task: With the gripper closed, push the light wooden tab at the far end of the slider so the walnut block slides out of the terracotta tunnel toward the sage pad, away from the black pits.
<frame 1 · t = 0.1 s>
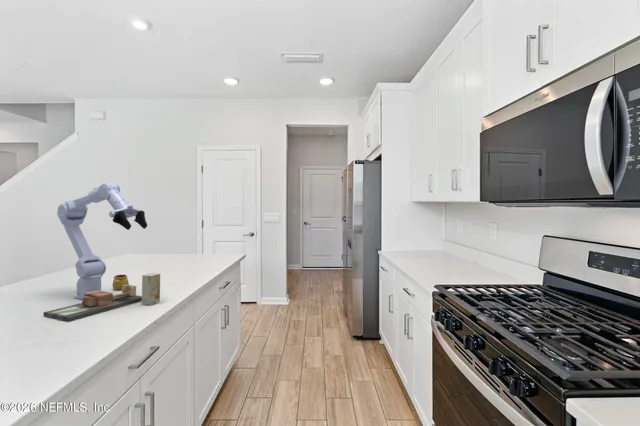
hand: (137, 227, 143), 32 cm above the worktop, tool tilted 50°, fingers open, 7 cm apart
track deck: (97, 307, 139), on the worktop
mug: (120, 288, 173), on the worktop
skincare box: (151, 303, 147), on the worktop
sled: (110, 294, 144), point 4 cm above the worktop, slide at 0.0 cm
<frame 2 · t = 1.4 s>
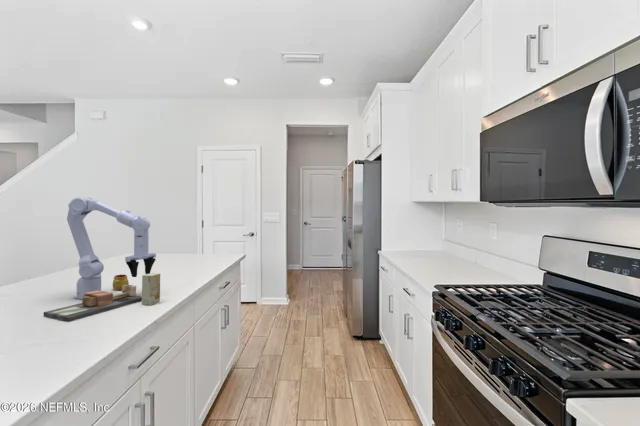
hand: (141, 275, 158), 9 cm above the worktop, tool pointing down, fingers open, 6 cm apart
nothing on the worktop moved.
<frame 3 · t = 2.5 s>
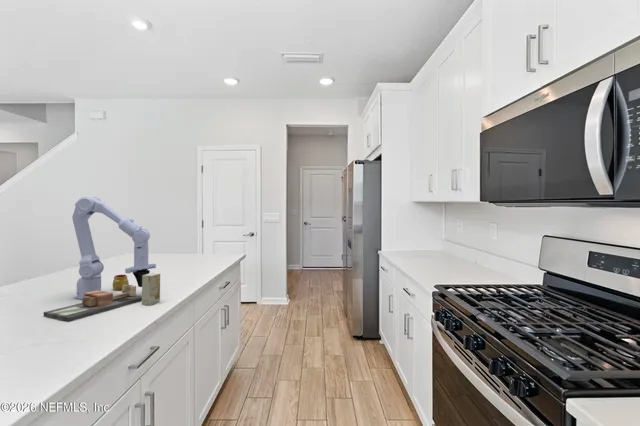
hand: (141, 286, 158), 4 cm above the worktop, tool pointing down, fingers closed
nothing on the worktop moved.
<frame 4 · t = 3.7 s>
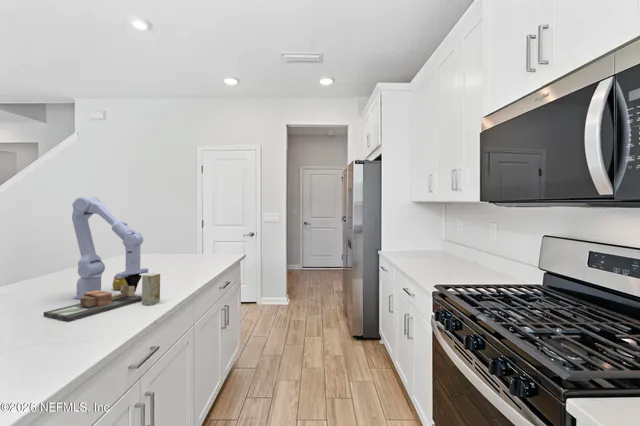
hand: (132, 291, 154), 3 cm above the worktop, tool pointing down, fingers closed
sled: (108, 295, 144), point 4 cm above the worktop, slide at 0.7 cm, touching gripper
everything else where it was.
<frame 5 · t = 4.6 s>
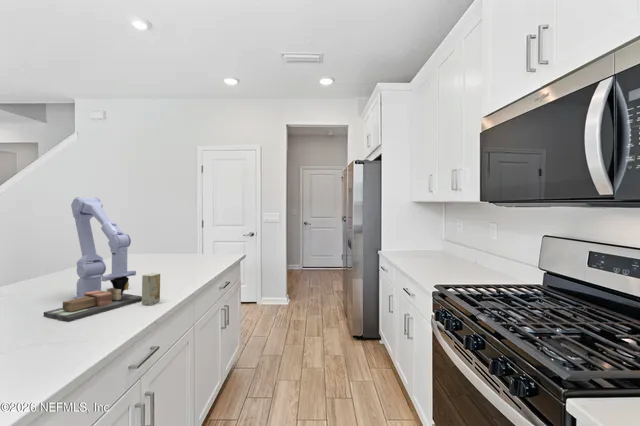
hand: (119, 295, 148), 3 cm above the worktop, tool pointing down, fingers closed
sled: (93, 298, 138), point 4 cm above the worktop, slide at 7.2 cm, touching gripper
everything else where it was.
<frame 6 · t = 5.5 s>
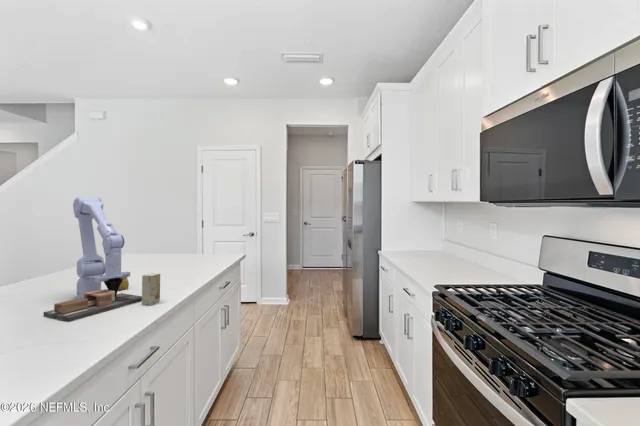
hand: (113, 296, 145), 3 cm above the worktop, tool pointing down, fingers closed
sled: (85, 300, 135), point 4 cm above the worktop, slide at 10.0 cm, touching gripper
everything else where it was.
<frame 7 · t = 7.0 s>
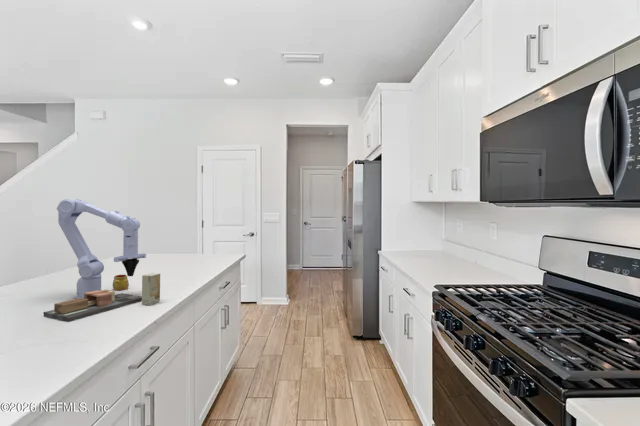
hand: (130, 275, 156), 9 cm above the worktop, tool pointing down, fingers closed
sled: (85, 300, 135), point 4 cm above the worktop, slide at 10.0 cm
everything else where it was.
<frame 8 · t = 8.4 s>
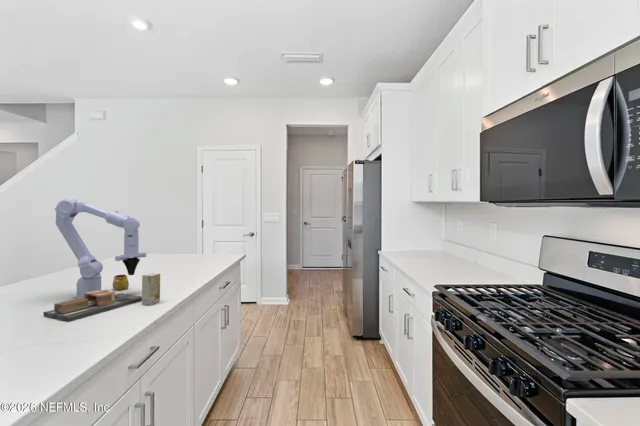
hand: (131, 274, 159), 9 cm above the worktop, tool pointing down, fingers closed
nothing on the worktop moved.
at the end: sled slide at 10.0 cm; skincare box moved 0.2 cm from its start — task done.
